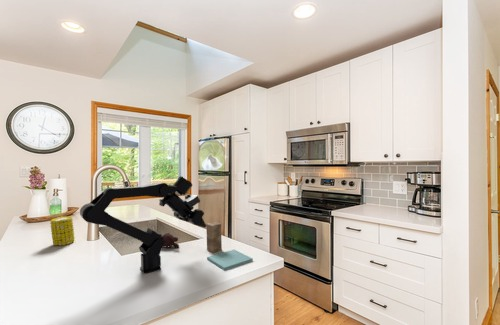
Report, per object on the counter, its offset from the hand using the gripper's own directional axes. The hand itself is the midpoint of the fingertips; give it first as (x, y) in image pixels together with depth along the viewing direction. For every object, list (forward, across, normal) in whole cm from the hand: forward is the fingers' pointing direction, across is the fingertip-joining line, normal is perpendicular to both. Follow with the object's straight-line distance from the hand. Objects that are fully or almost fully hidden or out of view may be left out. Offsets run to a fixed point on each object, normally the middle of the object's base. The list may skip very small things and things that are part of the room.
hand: (200, 224), depth 116 cm
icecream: (+4, +21, +15) cm, 26 cm away
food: (-23, +65, +42) cm, 80 cm away
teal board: (+13, -15, +6) cm, 21 cm away
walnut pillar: (+14, 0, +4) cm, 15 cm away
